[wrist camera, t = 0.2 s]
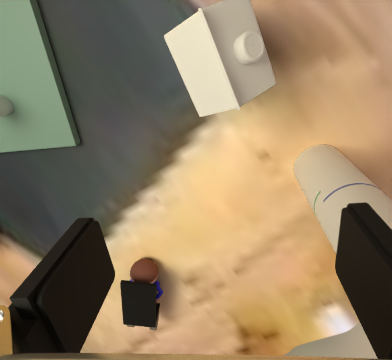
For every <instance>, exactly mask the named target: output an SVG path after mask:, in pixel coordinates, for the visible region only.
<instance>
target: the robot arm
mask: <svg viewBox="0 0 392 360" xmlns="http://www.w3.org/2000/svg"><path fill="white" fill-rule="evenodd" d="M335 269H336V273H337V276H338V278H339V280H340V282H341V284H342V286H343V288H344V290H345V292H346V294H347V296H348V298H349V300H350V303H351V305H352V307H353V309H354V311H355V313H356V315H357V317H358V319H359V321H360V323H361V325H362V327H363V329H364V331H365V333H366V335H367V337H368V339H369V341H370V344H371V345H372V348H373V350H374V352H375V353H376V356H377V358H378V359H365V358H339V357H301V356H255V355H201V354H131V353H80V351H81V349H82V347H83V344H84V342H85V340H86V338H87V336H88V334H89V332H90V330H91V328H92V325H93V323H94V321H95V319H96V317H97V315H98V313H99V311H100V309H101V306H102V304H103V302H104V300H105V298H106V296H107V294H108V292H109V289H110V287H111V285H112V283H113V281H114V278H115V271H114V267H113V264H112V261H111V258H110V255H109V252H108V249H107V246H106V243H105V240H104V237H103V234H102V231H101V228H100V225H99V222H98V221H95V220H94V219H93V218H79V219H77V220H76V221H75V222H74V223H73V224H72V225H71V227H70V228H69V229H68V230H67V231H66V232H65V234H64V235H63V236H62V237H61V238H60V239H59V241H58V242H57V243H56V244H55V245H54V247H53V248H52V249H51V250H50V251H49V252H48V254H47V255H46V256H45V257H44V258H43V259H42V261H41V262H40V263H39V264H38V265H37V266H36V268H35V269H34V270H33V271H32V272H31V274H30V275H29V276H28V277H27V278H26V279H25V281H24V282H23V283H22V284H21V285H20V286H19V288H18V289H17V290H16V291H15V292H14V293H13V295H12V296H11V297H10V300H11V302H12V304H11V305H10V306H9V307H6V306H4V305H0V360H392V229H391V228H390V227H389V226H388V225H387V224H386V223H385V222H384V220H383V219H382V218H381V217H380V216H379V215H378V214H377V213H376V212H375V210H374V209H373V208H372V207H371V206H370V205H369V204H368V203H366V202H363V203H349V204H348V205H347V207H346V208H342V212H341V220H340V228H339V237H338V245H337V254H336V263H335Z"/></svg>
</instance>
